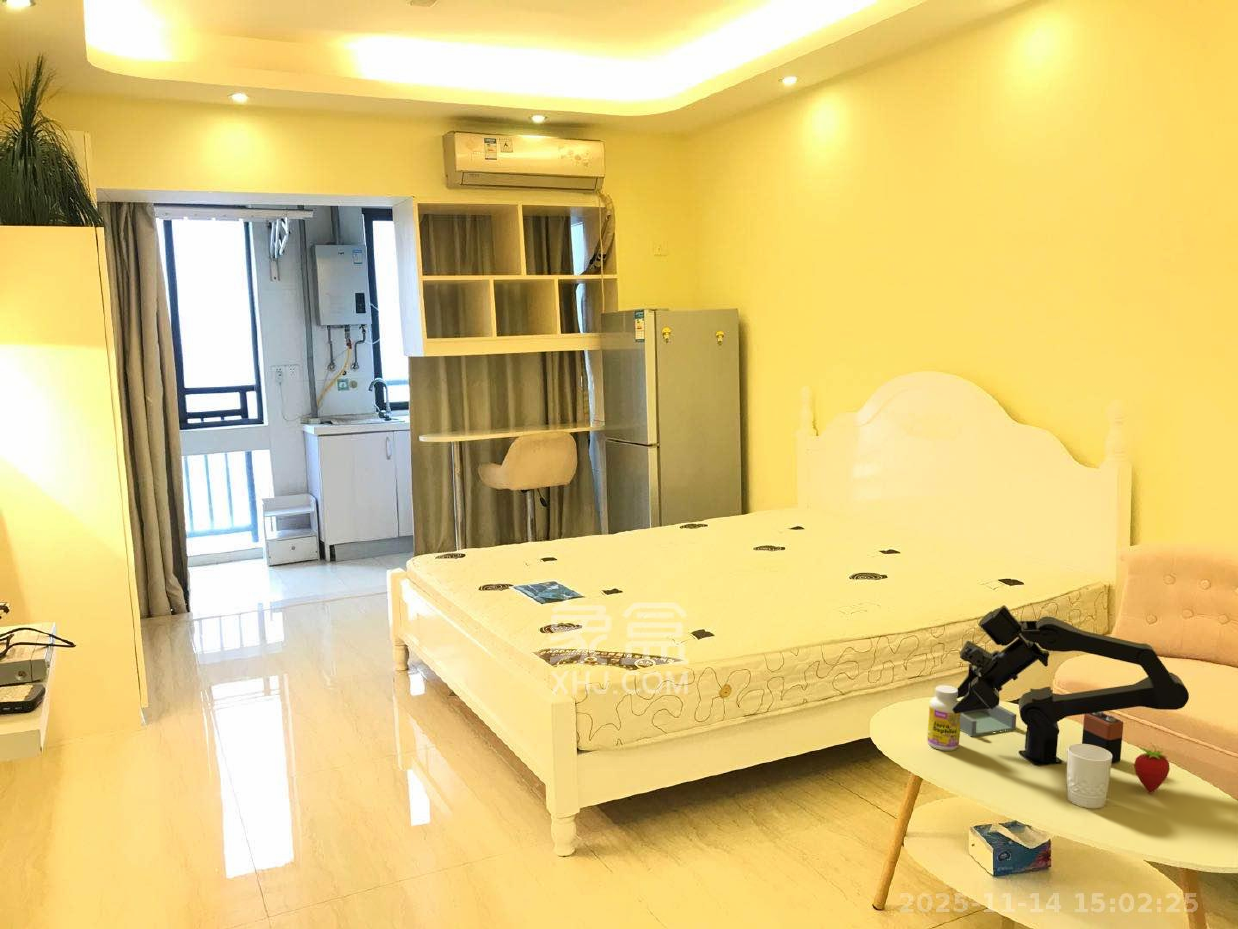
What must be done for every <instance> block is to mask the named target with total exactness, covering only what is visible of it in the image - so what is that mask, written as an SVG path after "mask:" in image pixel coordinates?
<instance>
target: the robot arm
mask: <svg viewBox="0 0 1238 929" xmlns="http://www.w3.org/2000/svg"><path fill="white" fill-rule="evenodd" d="M978 626H979V628H981V629H982V631H983V632H984V633H985V634H986V635H987V636H988V637H989V638H990V639H991V640H992V641H993V642H994V643H995V644H996V645H997V646H1000V645H1001V646H1002V647H1005V648H1003V649H1002V650H1001V651H1000V650H994V651H993V652H989V651H988V650H986V649H984V648H983V647H981V646H979V645H977V644H975V643H974V642H972V641H970V640H967V641H966V642H965V644H964V645H963V647H962V648H961V650H960V652H959V658H960V659H961V660H962V661H964V662H968V663H969V664H968V673H967V675H966V677H965V678H964V679H963V681H962V682H961V683H960V685H959V686H958V687H957V688H956V689H957V690H958V696H957V698H956V699H957V700H958V699H960V698H961V699H960V700H958V701H959V702H958V703H957V704H956V706H955V707H954V708H953V709H952V710H953V712H954V713H955V714H957V713H962V712H967V711H973V710H979V709H994V708H995V707H996V706H998V705H999V706H1000V692H1001V691H1002V690H1003V686H1004V685H1006V684H1007V683H1008V682H1010V681H1011V680H1013V681H1016V680H1017V679H1018V678H1019V674H1021V673H1022V672H1024V671H1025V670H1026V669H1027V668H1029V667H1030V666H1031V665H1033V664H1034V663H1036V662H1037V661H1039V662H1040V663H1041V664H1042V665H1043V666H1044V667H1046V668H1047V667H1048V666H1049V664H1048V663H1049V657H1050V652H1062V653H1066V652H1068V653H1069V652H1080V653H1081V652H1083V653H1086V654H1089V655H1096V656H1099V657H1104V658H1107V659H1112V660H1116V661H1121V662H1125V663H1129V664H1134V665H1137V666H1140V667H1141V668H1142V670H1143V671H1144V673H1145V674H1146V675H1147V677H1145V678H1143V679H1140V681H1138V682H1135V683H1134V684H1127V685H1121V686H1120V685H1119V686H1115V687H1114V686H1113V687H1106V688H1097V689H1092V690H1087V691H1079V692H1078V691H1077V692H1073V693H1072V692H1071V693H1064V694H1063V693H1062V694H1061V693H1054V692H1053V691H1052V689H1051V686H1046V687H1042V688H1036V689H1035V688H1030V689H1029V691H1027V692H1025V693H1023V694H1022V695H1021V697H1020V698H1019V700H1018V709H1019V716H1020V719H1021V721H1022V722H1023V723H1024V724H1025V725H1026V731H1025V742H1024V750H1022V749H1021V750H1018V754H1019V755H1020V756H1022V757H1023V758H1025V759H1026V760H1028V761H1029V762H1030V763H1032V764H1033V765H1035V766H1043V765H1044V766H1045V765H1055V764H1056V765H1057V764H1063V762H1064V761H1063V759H1061V758H1059V756H1057V754H1058V752H1057V751H1058V742H1059V741H1058V740H1059V734H1060V727H1059V722H1060V721H1062V720H1064V719H1065V718H1068V717H1073V716H1079V715H1084V714H1089V713H1096V712H1103V713H1104V712H1109V711H1110V712H1111V711H1117V710H1124V709H1132V708H1138V707H1140V708H1146V709H1153V710H1157V711H1159V710H1162V711H1169V710H1170V711H1175V710H1176V711H1177V710H1180V709H1183V708H1184V707H1185V706H1186V705H1187V703H1188V702H1189V699H1190V694H1189V691H1188V689H1187V687H1186V686H1185V684H1184V682H1183V681H1182V679H1181V678H1180V677H1179V676H1178V675H1176V674H1175V673H1173V672H1171V671H1169V670H1168V669H1167V667H1166V666H1165V664H1164V663H1163V662H1162V661H1161V659H1160V658H1159V657H1158V655H1157V652H1156V651H1155V649H1154V648H1153V646H1151V645H1150V644H1148V643H1143V642H1142V643H1139V642H1134V641H1130V640H1126V639H1121V638H1117V637H1112V636H1108V635H1104V634H1100V633H1095V632H1091V631H1086V630H1082V629H1080V628H1078V627H1077V626H1076V627H1075V626H1074V625H1071V624H1070V623H1068V622H1065V621H1063V620H1061V619H1058V618H1056V617H1053V616H1043V617H1041V618H1039V619H1038V620H1018V619H1017V618H1016V617H1015V616H1014V615H1013V614H1012V613H1011V611H1010V610H1009V608H1008V607H1007V606H1006V605H1001V606H1000V607H998V608H995V609H994V610H990V611H989V612H988V613H986V615H984V616H983V617H982V618H981V619H980V621H979V622H978Z"/></svg>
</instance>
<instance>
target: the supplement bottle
mask: <svg viewBox="0 0 1238 929" xmlns="http://www.w3.org/2000/svg"><path fill="white" fill-rule="evenodd" d="M934 689H935V690H934V694H935V696H934V697H932V698H931V700H930V701H929V706H928V707H929V710H928V724H927V735H926V736H927V738H926V740H927V744H928V745H929V746H930V747H931V748H934V749H936V750H939V751H954V750H957V749H958V748H959V745H960V736H961V731H960V724H961V713H957V714H955V713H954V712H953V710H952V709H953V708H954V707H955V706H956V704H957V703H958V702H959V701H960V700H958V698H957V696H958V690H957V688H956V687H955V686H950V685H945V684H944V685H942V684H941V685H937V686H936V687H935V688H934ZM956 698H957V699H956Z"/></svg>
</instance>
